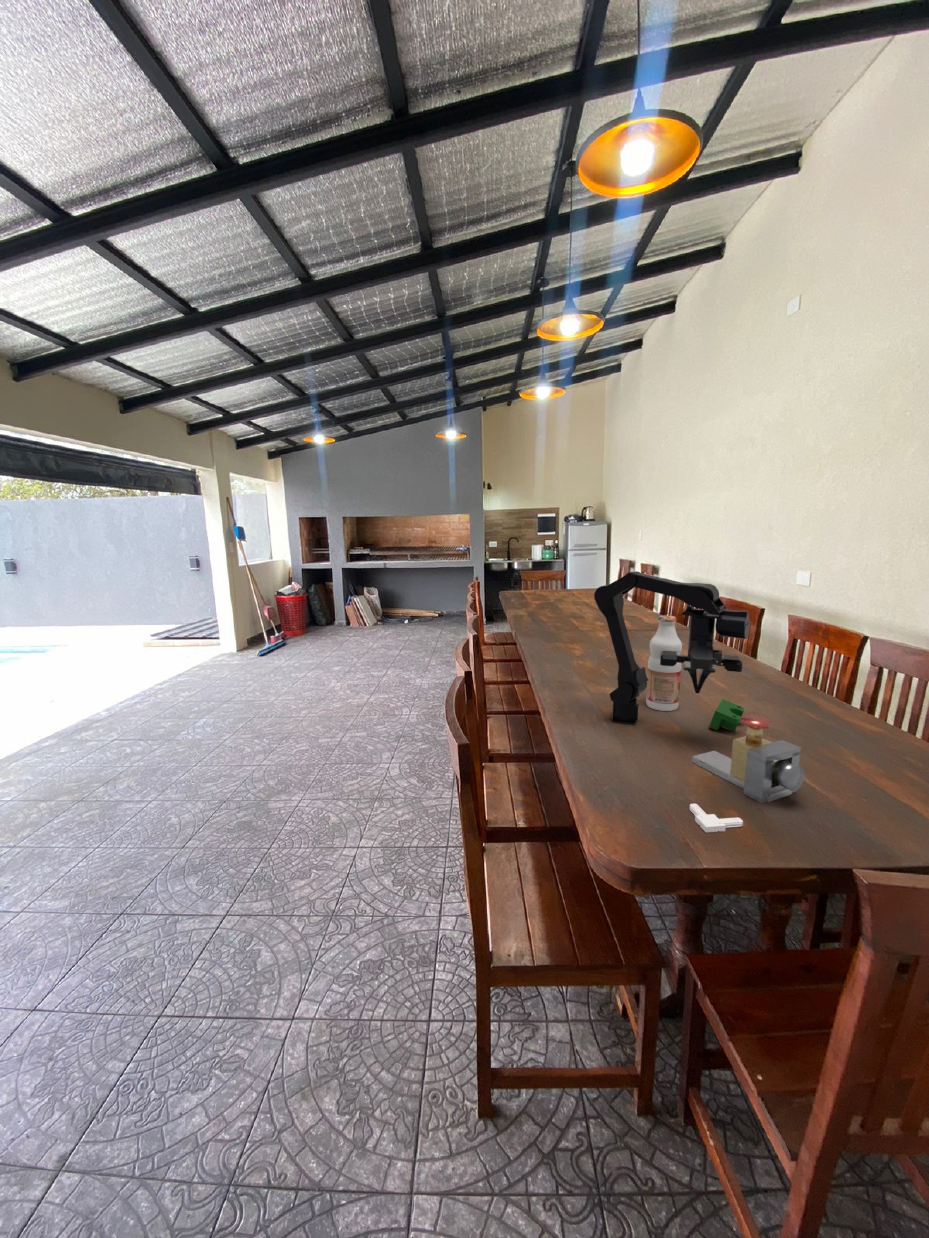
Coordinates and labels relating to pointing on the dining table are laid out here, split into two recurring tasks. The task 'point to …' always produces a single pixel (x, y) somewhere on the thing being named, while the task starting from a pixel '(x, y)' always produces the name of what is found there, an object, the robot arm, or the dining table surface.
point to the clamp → (726, 716)
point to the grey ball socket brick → (761, 770)
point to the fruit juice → (663, 668)
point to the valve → (748, 743)
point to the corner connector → (713, 820)
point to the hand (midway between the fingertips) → (697, 692)
